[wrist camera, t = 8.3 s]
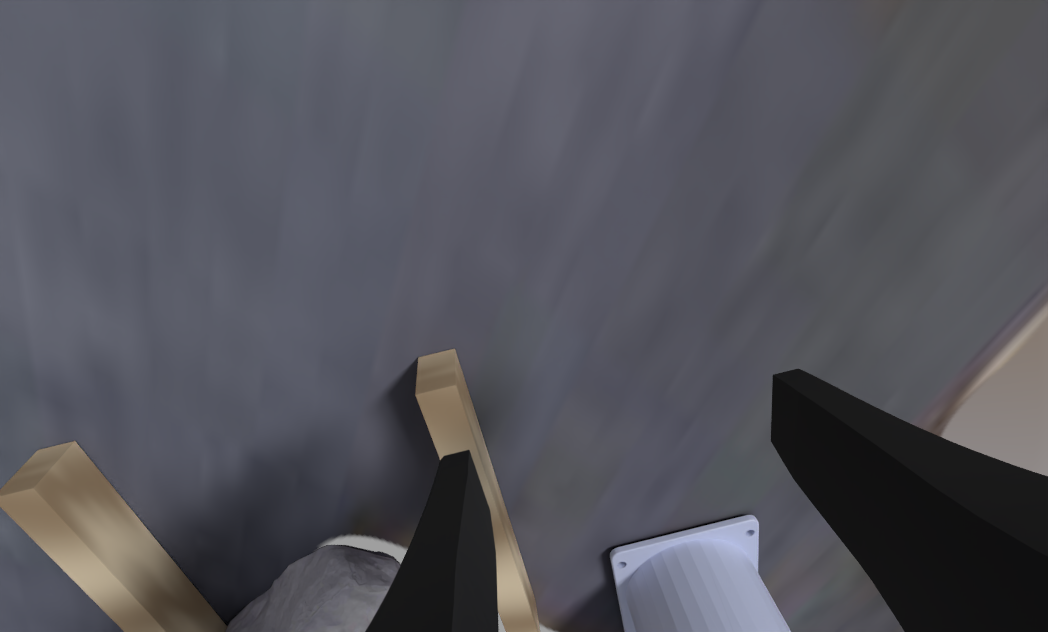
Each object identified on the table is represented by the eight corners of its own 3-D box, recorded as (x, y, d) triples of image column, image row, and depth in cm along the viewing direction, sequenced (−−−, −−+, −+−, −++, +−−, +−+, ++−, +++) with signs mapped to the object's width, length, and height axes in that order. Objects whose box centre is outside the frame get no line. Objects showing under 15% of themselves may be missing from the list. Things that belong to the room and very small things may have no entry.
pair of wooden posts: (535, 600, 30) (542, 645, 28) (235, 675, 30) (218, 726, 28) (454, 348, 22) (456, 385, 20) (37, 450, 22) (-8, 498, 19)
